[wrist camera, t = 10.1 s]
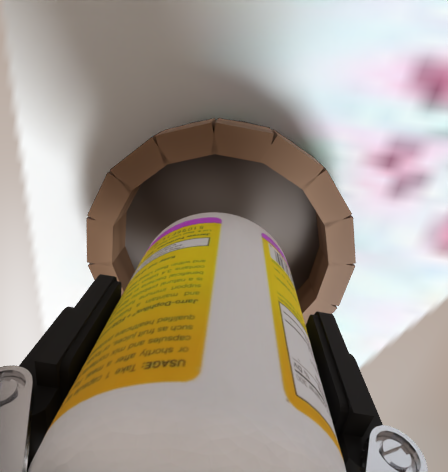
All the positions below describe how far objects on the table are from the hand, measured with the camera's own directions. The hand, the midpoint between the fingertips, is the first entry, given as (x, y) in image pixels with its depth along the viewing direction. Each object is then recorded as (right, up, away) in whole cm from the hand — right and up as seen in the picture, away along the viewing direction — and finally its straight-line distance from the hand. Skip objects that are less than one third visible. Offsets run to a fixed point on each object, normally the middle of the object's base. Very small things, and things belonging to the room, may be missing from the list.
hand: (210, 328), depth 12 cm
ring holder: (0, +3, +7) cm, 7 cm away
